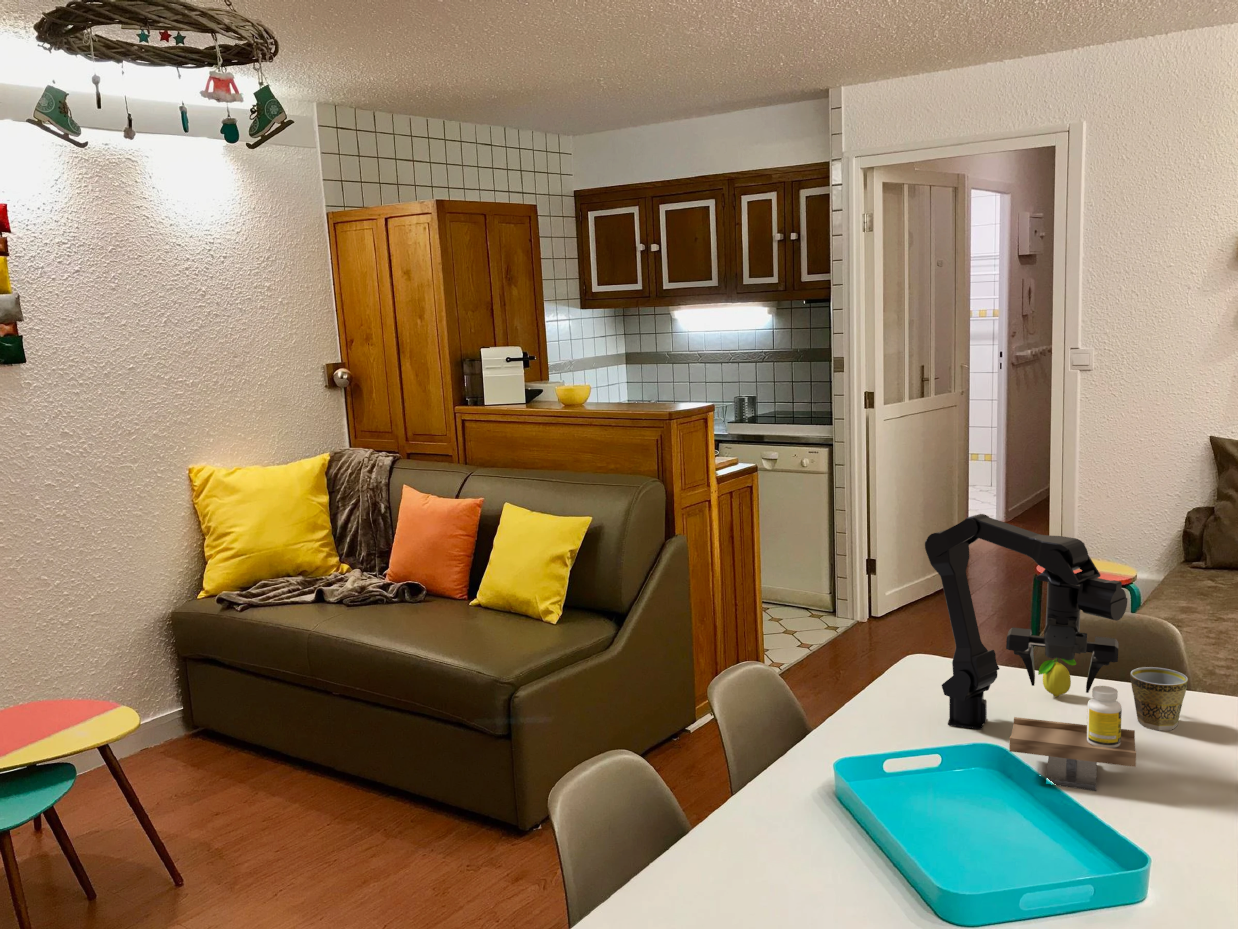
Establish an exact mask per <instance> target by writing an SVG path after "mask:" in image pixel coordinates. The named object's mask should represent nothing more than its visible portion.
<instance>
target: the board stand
mask: <svg viewBox="0 0 1238 929" xmlns="http://www.w3.org/2000/svg"><path fill="white" fill-rule="evenodd" d="M1047 759H1048V760H1047V766H1046V773H1045V778H1046V777H1047V778H1048V779H1049V780H1050V781H1052V782H1053V783H1054V784H1056V785H1057V787H1062V788H1063V787H1065V788H1071V789H1080V790H1086V791H1092V792H1093V791H1094V792H1097V772H1098V771H1097V769H1098V767H1097V764H1098V762H1091V761H1083V760H1075V759H1067V758H1059V757H1051V756H1047ZM1056 785H1055V786H1056Z"/></svg>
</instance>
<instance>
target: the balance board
mask: <svg viewBox="0 0 1238 929" xmlns="http://www.w3.org/2000/svg"><path fill="white" fill-rule="evenodd" d="M1135 734H1136V731H1135V729H1134V730H1133V729H1125V728H1121V743H1120V745H1119V746H1118V747H1116V748H1105V747H1097V746H1093V745H1091V744H1090V743H1089V742H1088V741H1087V724H1080V723H1071V722H1062V721H1052V720H1044V719H1035V718H1025V717H1017V716H1014V717H1013V725H1012V730H1011V735H1010V736H1009V742H1008V743H1009V752H1012V753H1020V754H1027V755H1034V756H1042V757H1043V756H1044V757H1049V756H1051V757H1059V758H1067V759H1075V760H1083V761H1091V762H1097V763H1100V764H1106V765H1107V764H1108V765H1116V766H1124V767H1132V768H1136V764H1137V750H1136V738H1135V737H1136V735H1135Z"/></svg>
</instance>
